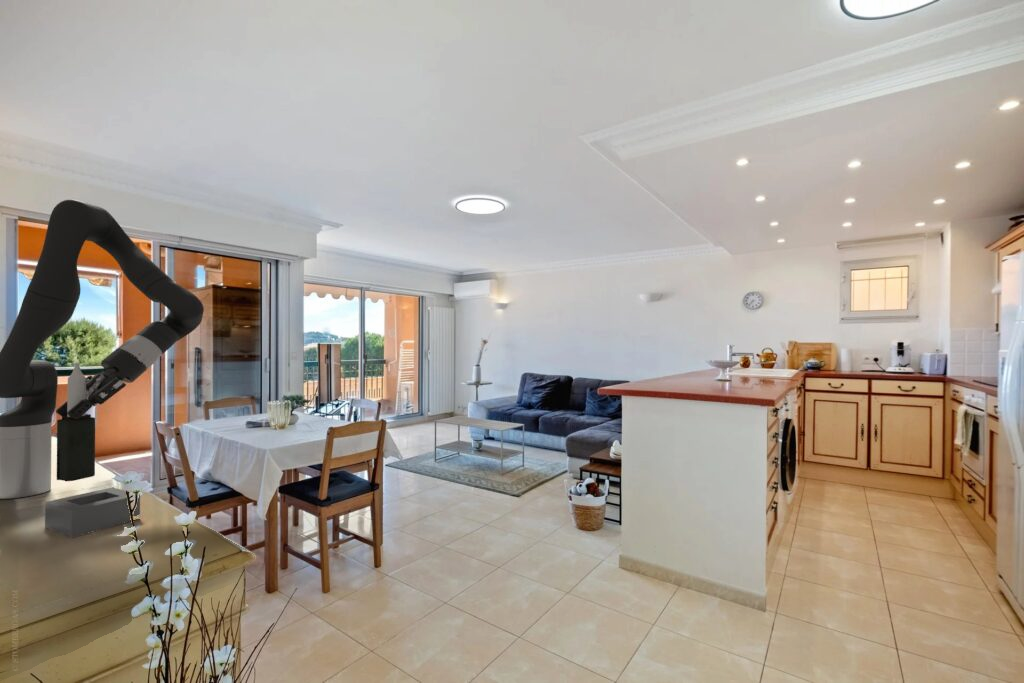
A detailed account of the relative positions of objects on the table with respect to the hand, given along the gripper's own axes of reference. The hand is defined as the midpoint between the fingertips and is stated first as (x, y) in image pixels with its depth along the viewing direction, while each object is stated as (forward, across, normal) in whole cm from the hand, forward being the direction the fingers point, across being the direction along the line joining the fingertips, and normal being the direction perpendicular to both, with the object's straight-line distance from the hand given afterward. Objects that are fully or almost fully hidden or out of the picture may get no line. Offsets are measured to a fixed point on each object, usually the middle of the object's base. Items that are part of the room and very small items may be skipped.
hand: (65, 415), depth 99 cm
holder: (+14, +10, +16) cm, 24 cm away
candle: (+8, 0, +11) cm, 14 cm away
